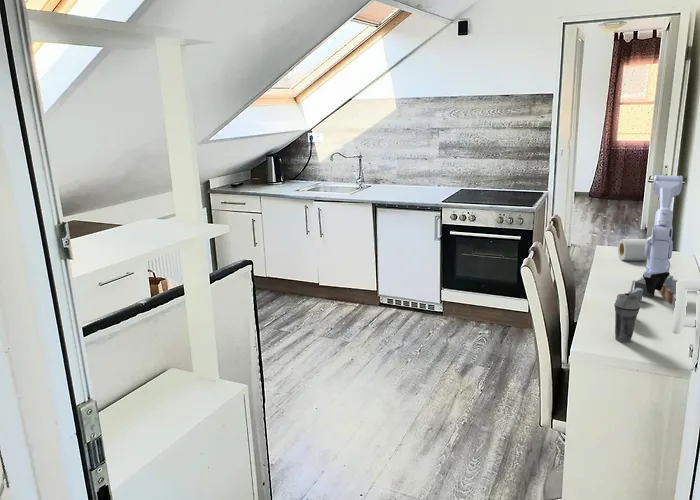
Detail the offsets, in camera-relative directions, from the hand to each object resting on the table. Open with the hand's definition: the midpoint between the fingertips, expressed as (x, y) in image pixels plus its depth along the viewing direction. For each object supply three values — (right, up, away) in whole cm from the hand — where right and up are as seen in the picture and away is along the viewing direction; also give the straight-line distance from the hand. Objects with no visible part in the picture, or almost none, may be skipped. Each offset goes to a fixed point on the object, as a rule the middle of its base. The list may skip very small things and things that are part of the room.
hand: (654, 291), depth 211 cm
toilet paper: (+15, +11, +46) cm, 50 cm away
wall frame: (-1, -2, +3) cm, 3 cm away
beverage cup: (-29, -13, -34) cm, 46 cm away
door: (+4, -2, 0) cm, 4 cm away
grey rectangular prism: (-2, -1, +4) cm, 4 cm away
